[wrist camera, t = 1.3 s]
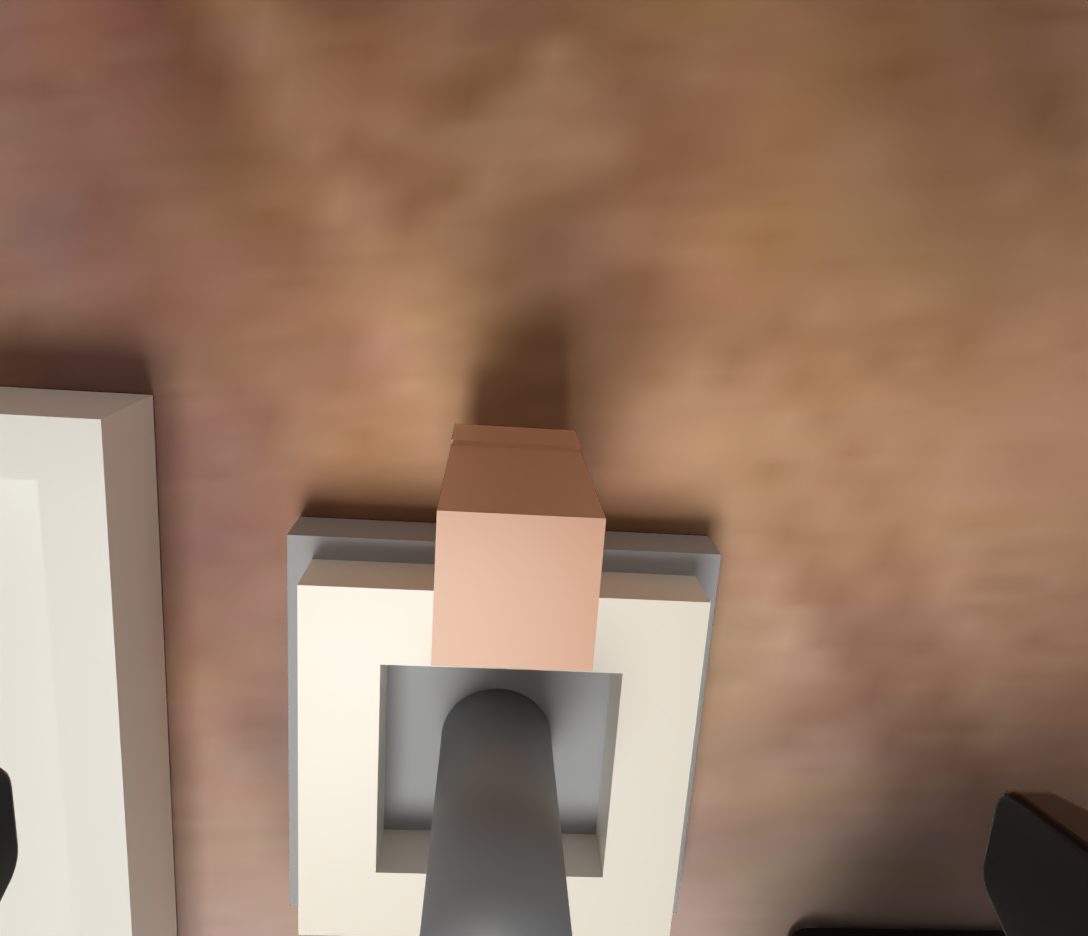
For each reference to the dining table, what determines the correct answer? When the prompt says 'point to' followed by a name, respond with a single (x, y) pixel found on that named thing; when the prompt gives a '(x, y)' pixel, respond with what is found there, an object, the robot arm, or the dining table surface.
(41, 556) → the tray
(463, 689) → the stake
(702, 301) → the dining table surface
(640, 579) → the ring
